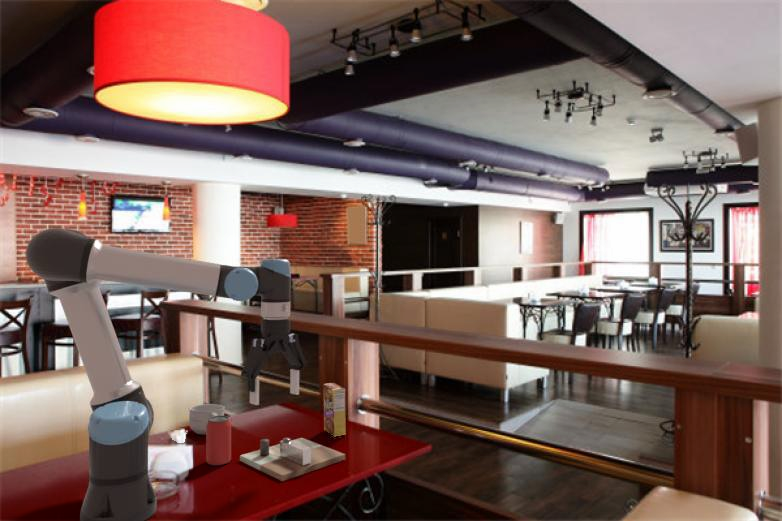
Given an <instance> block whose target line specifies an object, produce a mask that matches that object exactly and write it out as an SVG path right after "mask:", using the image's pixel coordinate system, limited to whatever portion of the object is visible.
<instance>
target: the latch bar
mask: <svg viewBox="0 0 782 521" xmlns="http://www.w3.org/2000/svg"><path fill="white" fill-rule="evenodd" d="M279 444H280V456H282V457H284V458H287V459H289V460H291V461H294V462H296V463H298V464H301V465H306V464H309V463H311V448H310V447H307V446H305V445H302V444H300V443H297V442H295V441H292V438H290V437H283V438H282V440H280V441H279Z"/></svg>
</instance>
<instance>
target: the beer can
mask: <svg viewBox="0 0 782 521" xmlns="http://www.w3.org/2000/svg"><path fill="white" fill-rule="evenodd" d="M205 439H206V440H205V441H206V442H205V446H206V447H205V449H206V450H205V451H206V453H205V458H206V460H205V461H206V463H207V464H208V465H209V466H224V465H225V464H229V463H230V461H231V460H232V423H231V421H230V416H227V415H224V416H214V417H211V418H209V419H208V423H207V426H206V434H205Z"/></svg>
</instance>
